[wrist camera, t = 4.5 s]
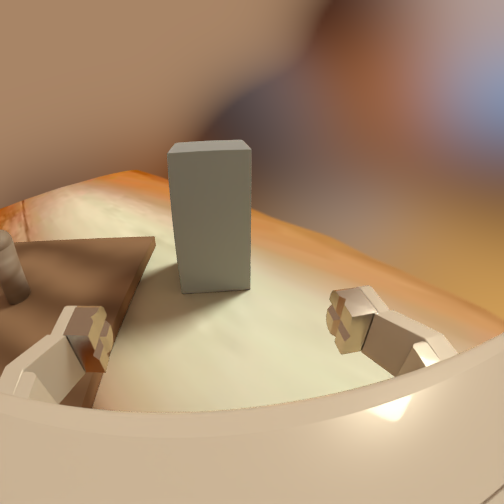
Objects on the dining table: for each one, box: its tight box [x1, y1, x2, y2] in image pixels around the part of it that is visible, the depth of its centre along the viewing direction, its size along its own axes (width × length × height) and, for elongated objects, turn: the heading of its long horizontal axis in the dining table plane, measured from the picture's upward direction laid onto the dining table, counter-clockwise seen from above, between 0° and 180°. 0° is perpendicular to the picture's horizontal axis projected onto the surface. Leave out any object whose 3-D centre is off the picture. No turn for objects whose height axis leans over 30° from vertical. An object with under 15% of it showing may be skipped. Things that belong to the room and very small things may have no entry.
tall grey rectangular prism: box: [167, 140, 252, 294], centre depth 21 cm, size 5×5×10 cm
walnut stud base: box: [0, 230, 156, 409], centre depth 16 cm, size 20×20×7 cm
